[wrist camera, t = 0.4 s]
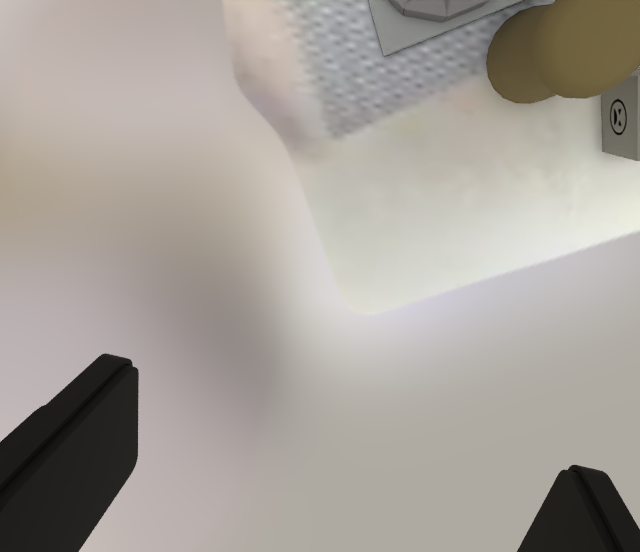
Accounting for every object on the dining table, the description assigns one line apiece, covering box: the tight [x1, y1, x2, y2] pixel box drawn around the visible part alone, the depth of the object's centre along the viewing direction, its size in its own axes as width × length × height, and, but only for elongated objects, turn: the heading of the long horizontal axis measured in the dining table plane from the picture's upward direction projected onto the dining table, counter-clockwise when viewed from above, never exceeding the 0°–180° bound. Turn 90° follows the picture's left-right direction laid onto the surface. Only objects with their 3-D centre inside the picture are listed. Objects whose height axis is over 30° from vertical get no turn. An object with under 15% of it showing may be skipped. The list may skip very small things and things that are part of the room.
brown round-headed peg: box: [486, 0, 640, 103], centre depth 25 cm, size 6×6×11 cm
